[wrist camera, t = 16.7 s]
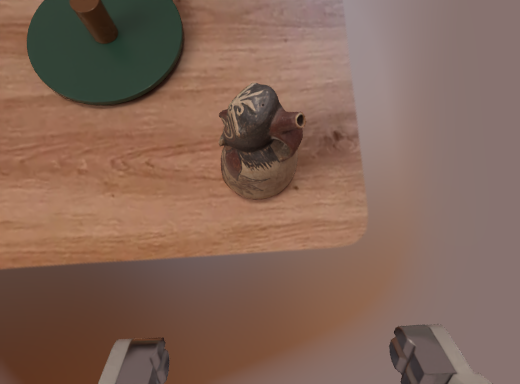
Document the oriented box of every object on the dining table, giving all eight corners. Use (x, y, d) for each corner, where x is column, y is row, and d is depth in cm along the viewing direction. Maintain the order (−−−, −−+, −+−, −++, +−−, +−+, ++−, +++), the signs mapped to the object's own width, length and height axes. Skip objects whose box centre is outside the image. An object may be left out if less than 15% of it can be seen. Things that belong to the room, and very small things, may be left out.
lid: (209, 13, 33) (202, -32, 28) (139, 132, 29) (116, 105, 24) (86, -38, 34) (56, -91, 28) (4, 71, 30) (-46, 34, 25)
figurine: (247, 118, 30) (245, 29, 18) (307, 154, 29) (345, 85, 18) (207, 176, 28) (178, 119, 17) (270, 214, 28) (285, 183, 16)
